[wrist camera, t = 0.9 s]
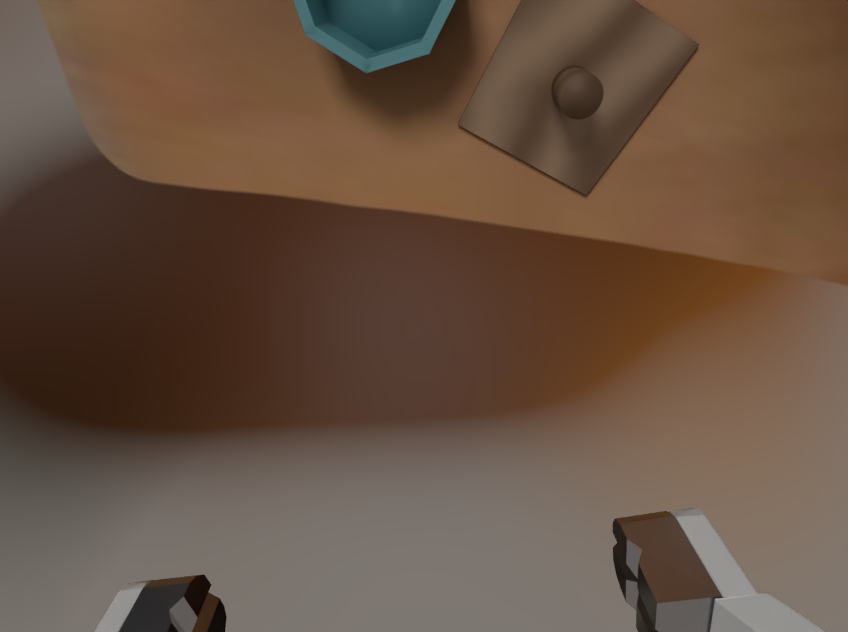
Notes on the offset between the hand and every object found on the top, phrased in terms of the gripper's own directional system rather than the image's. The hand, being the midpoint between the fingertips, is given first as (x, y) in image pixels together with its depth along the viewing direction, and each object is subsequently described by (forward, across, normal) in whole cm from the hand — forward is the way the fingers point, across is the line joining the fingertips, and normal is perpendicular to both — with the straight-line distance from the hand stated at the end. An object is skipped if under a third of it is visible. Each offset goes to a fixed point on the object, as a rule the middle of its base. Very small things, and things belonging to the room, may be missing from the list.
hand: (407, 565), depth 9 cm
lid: (+35, -14, -6) cm, 38 cm away
